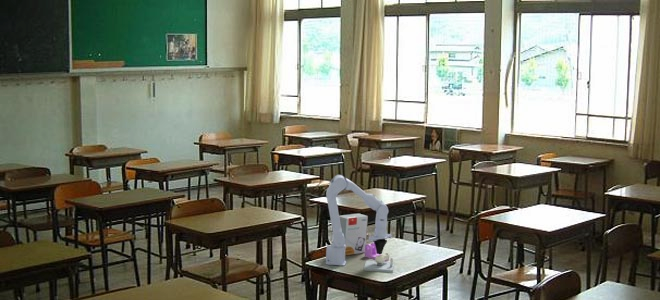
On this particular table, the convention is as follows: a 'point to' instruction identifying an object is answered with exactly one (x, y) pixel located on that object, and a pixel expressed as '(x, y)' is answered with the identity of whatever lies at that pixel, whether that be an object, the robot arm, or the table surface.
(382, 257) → the cream knobbed bar
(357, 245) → the hard drive box
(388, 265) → the board
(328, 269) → the table surface
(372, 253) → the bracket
